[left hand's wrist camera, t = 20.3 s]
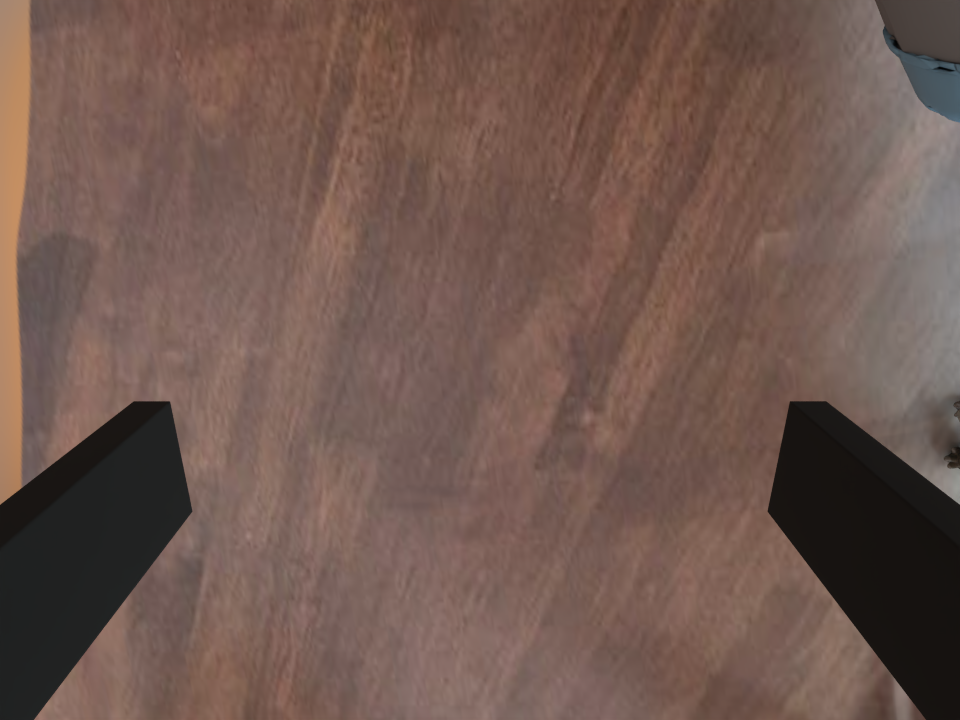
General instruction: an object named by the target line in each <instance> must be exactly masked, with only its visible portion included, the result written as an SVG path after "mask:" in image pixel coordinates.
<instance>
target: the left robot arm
mask: <svg viewBox="0 0 960 720" xmlns="http://www.w3.org/2000/svg"><path fill="white" fill-rule="evenodd" d="M875 1H876V4H877V6H878V9H879V11H880V14H881V17H882V19H883V22H884V24H885V27H884V29H883V35H884V38H885V41H886V44H887V45H888V47H889V49H890V50H891V51H892V52H893V53H894V54H895V55H896V56H898V57H899V58H900V60H901V63H902V65H903V67H904V69H905V71H906V73H907V76H908V78H909V80H910V82H911V84H912V86H913V89H914V91H915V93H916V95H917V96H918V98H919V99H920V101H921V102H922V103H923V104H924V105H925V106H926V107H927V108H928V109H930V110H932V111H934V112H937V113H939V114H940V115H942V116H945V117H946V118H948V119H949V120H952V121H956V122H960V0H875ZM191 513H192V507H191V502H190V497H189V492H188V488H187V483H186V478H185V473H184V468H183V463H182V458H181V453H180V448H179V443H178V438H177V434H176V429H175V424H174V419H173V414H172V409H171V404H170V401H134V402H132V403H131V404H130V405H129V406H127V407H126V408H125V409H123V410H122V411H121V412H120V413H118V414H117V415H116V416H114V417H113V418H112V419H111V420H109V421H108V422H107V423H105V424H104V425H103V426H101V427H100V428H99V429H98V430H96V431H95V432H94V433H92V434H91V435H90V436H89V437H87V438H86V439H85V440H83V441H82V442H81V443H79V444H78V445H77V446H76V447H74V448H73V449H72V450H70V451H69V452H68V453H67V454H65V455H64V456H63V457H61V458H60V459H59V460H58V461H56V462H55V463H54V464H52V465H51V466H50V467H48V468H47V469H46V470H45V471H43V472H42V473H41V474H39V475H38V476H37V477H36V478H34V479H33V480H32V481H30V482H29V483H28V484H27V485H25V486H24V487H23V488H21V489H20V490H19V491H18V492H16V493H15V494H14V495H12V496H11V497H10V498H8V499H7V500H6V501H5V502H3V503H2V504H1V505H0V720H34V719H35V717H36V716H37V715H38V714H39V712H40V711H41V710H42V708H43V707H44V706H45V704H46V703H47V702H48V700H49V699H50V698H51V696H52V695H53V694H54V693H55V691H56V690H57V689H58V687H59V686H60V685H61V683H62V682H63V681H64V679H65V678H66V677H67V675H68V674H69V673H70V672H71V670H72V669H73V668H74V666H75V665H76V664H77V662H78V661H79V660H80V658H81V657H82V656H83V654H84V653H85V652H86V651H87V649H88V648H89V647H90V645H91V644H92V643H93V641H94V640H95V639H96V637H97V636H98V635H99V633H100V632H101V631H102V629H103V628H104V627H105V626H106V624H107V623H108V622H109V620H110V619H111V618H112V616H113V615H114V614H115V612H116V611H117V610H118V608H119V607H120V606H121V605H122V603H123V602H124V601H125V599H126V598H127V597H128V595H129V594H130V593H131V591H132V590H133V589H134V587H135V586H136V585H137V584H138V582H139V581H140V580H141V578H142V577H143V576H144V574H145V573H146V572H147V570H148V569H149V568H150V566H151V565H152V564H153V562H154V561H155V560H156V559H157V557H158V556H159V555H160V553H161V552H162V551H163V549H164V548H165V547H166V545H167V544H168V543H169V541H170V540H171V539H172V538H173V536H174V535H175V534H176V532H177V531H178V530H179V528H180V527H181V526H182V524H183V523H184V522H185V520H186V519H187V518H188V517H189V515H190V514H191ZM768 513H769V514H770V515H771V517H772V518H773V519H774V520H775V522H776V523H777V524H778V526H779V527H780V528H781V530H782V531H783V532H784V534H785V535H786V536H787V538H788V539H789V540H790V541H791V543H792V544H793V545H794V547H795V548H796V549H797V551H798V552H799V553H800V555H801V556H802V557H803V559H804V560H805V561H806V562H807V564H808V565H809V566H810V568H811V569H812V570H813V572H814V573H815V574H816V576H817V577H818V578H819V580H820V581H821V582H822V584H823V585H824V586H825V587H826V589H827V590H828V591H829V593H830V594H831V595H832V597H833V598H834V599H835V601H836V602H837V603H838V605H839V606H840V607H841V608H842V610H843V611H844V612H845V614H846V615H847V616H848V618H849V619H850V620H851V622H852V623H853V624H854V626H855V627H856V628H857V629H858V631H859V632H860V633H861V635H862V636H863V637H864V639H865V640H866V641H867V643H868V644H869V645H870V647H871V648H872V649H873V651H874V652H875V653H876V654H877V656H878V657H879V658H880V660H881V661H882V662H883V664H884V665H885V666H886V668H887V669H888V670H889V672H890V673H891V674H892V675H893V677H894V678H895V679H896V681H897V682H898V683H899V685H900V686H901V687H902V689H903V690H904V691H905V693H906V694H907V695H908V696H909V698H910V699H911V700H912V702H913V703H914V704H915V706H916V707H917V708H918V710H919V711H920V712H921V714H922V715H923V716H924V717H925V719H926V720H960V505H959V504H958V503H957V502H955V501H954V500H953V499H952V498H950V497H949V496H948V495H946V494H945V493H944V492H943V491H941V490H940V489H939V488H937V487H936V486H935V485H933V484H932V483H931V482H930V481H928V480H927V479H926V478H924V477H923V476H922V475H921V474H919V473H918V472H917V471H915V470H914V469H913V468H912V467H910V466H909V465H908V464H906V463H905V462H904V461H902V460H901V459H900V458H899V457H897V456H896V455H895V454H893V453H892V452H891V451H890V450H888V449H887V448H886V447H884V446H883V445H882V444H881V443H879V442H878V441H877V440H875V439H874V438H873V437H871V436H870V435H869V434H868V433H866V432H865V431H864V430H862V429H861V428H860V427H859V426H857V425H856V424H855V423H853V422H852V421H851V420H849V419H848V418H847V417H846V416H844V415H843V414H842V413H840V412H839V411H838V410H837V409H835V408H834V407H833V406H831V405H830V404H829V403H828V402H826V401H790V404H789V409H788V414H787V419H786V424H785V429H784V434H783V438H782V443H781V448H780V453H779V458H778V463H777V468H776V473H775V478H774V483H773V488H772V492H771V497H770V502H769V507H768Z"/></svg>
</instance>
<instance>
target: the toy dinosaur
mask: <svg viewBox="0 0 960 720" xmlns="http://www.w3.org/2000/svg"><path fill="white" fill-rule="evenodd" d="M954 407H956V408H957V409H958V411H957V412H956V413H955V414H954V416H955V417H958V419H959V421H960V401H959V402H956V403H955V404H954ZM951 450H952V454H950V455H948V456H945V457H944V460H946V461H949V464H948V466H947V467H948V468H950V469H951V468H959V469H960V448H957V447H953V448H951Z"/></svg>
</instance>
